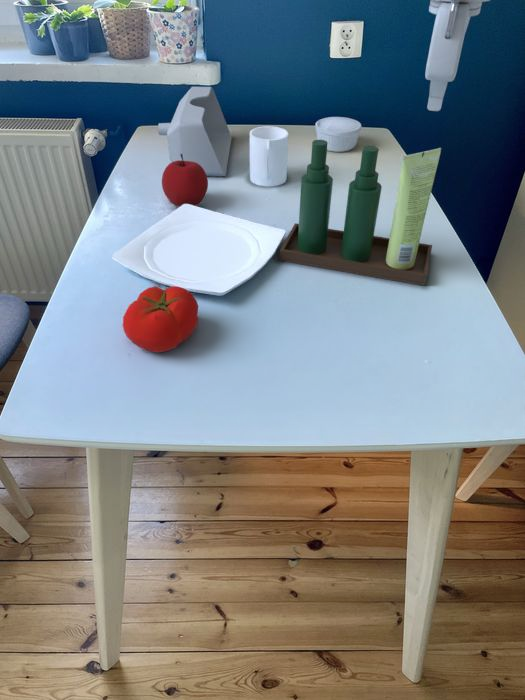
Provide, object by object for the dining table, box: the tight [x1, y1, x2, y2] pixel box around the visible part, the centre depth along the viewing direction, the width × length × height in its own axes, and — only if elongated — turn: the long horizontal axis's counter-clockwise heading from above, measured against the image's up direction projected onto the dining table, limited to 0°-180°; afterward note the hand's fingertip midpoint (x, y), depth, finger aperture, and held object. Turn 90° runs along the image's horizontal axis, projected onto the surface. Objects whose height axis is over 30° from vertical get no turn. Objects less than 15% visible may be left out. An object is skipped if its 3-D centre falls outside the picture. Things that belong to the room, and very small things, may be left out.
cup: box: [249, 125, 289, 188], centre depth 116 cm, size 8×12×10 cm
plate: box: [111, 204, 287, 296], centre depth 95 cm, size 24×24×3 cm
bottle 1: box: [297, 139, 334, 255], centre depth 91 cm, size 5×5×19 cm
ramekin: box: [314, 116, 362, 153], centre depth 134 cm, size 11×11×5 cm
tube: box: [386, 147, 442, 270], centre depth 87 cm, size 6×5×20 cm
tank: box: [157, 86, 232, 177], centre depth 126 cm, size 25×16×12 cm, turn 179°
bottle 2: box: [341, 145, 382, 262], centre depth 89 cm, size 5×5×19 cm
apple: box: [161, 154, 209, 208], centre depth 108 cm, size 9×9×10 cm
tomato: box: [122, 285, 199, 353], centre depth 78 cm, size 10×11×6 cm
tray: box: [279, 222, 433, 287], centre depth 95 cm, size 25×10×2 cm, turn 72°
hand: (436, 99), depth 76 cm, fingers open, 8 cm apart
